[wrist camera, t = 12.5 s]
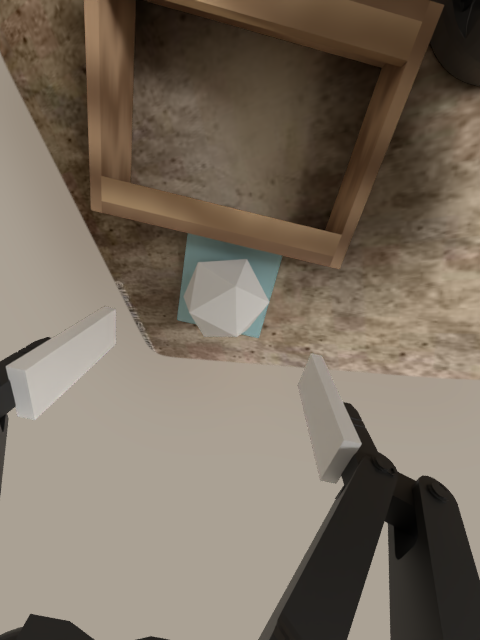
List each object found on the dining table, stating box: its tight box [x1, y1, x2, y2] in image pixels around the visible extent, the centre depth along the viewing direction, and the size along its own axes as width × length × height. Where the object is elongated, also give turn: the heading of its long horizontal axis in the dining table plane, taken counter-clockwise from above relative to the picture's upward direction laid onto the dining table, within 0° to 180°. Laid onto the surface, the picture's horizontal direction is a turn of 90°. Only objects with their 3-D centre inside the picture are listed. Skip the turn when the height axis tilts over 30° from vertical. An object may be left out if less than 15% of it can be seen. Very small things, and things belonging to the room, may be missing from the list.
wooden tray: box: [84, 0, 444, 269], centre depth 21 cm, size 18×24×6 cm
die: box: [184, 259, 269, 337], centre depth 25 cm, size 8×9×10 cm
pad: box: [177, 233, 282, 338], centre depth 29 cm, size 11×11×1 cm
